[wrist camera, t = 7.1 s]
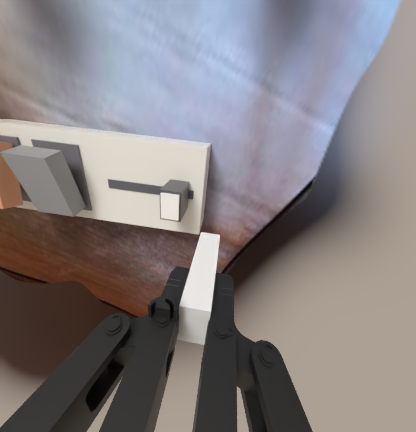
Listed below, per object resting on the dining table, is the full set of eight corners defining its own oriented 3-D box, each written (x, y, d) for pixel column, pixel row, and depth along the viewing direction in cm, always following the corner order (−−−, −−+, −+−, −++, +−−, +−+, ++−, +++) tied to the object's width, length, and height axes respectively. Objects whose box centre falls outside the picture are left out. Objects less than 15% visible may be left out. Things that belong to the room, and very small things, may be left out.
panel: (38, 194, 33) (5, 206, 28) (11, 119, 27) (-35, 118, 22) (203, 218, 31) (198, 235, 26) (211, 143, 25) (206, 148, 21)
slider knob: (170, 205, 25) (159, 220, 21) (170, 179, 23) (158, 190, 19) (187, 207, 24) (179, 223, 21) (189, 181, 23) (180, 193, 19)
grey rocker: (52, 201, 26) (38, 211, 24) (20, 145, 21) (-1, 152, 19) (85, 206, 26) (74, 216, 24) (61, 150, 21) (44, 158, 19)
